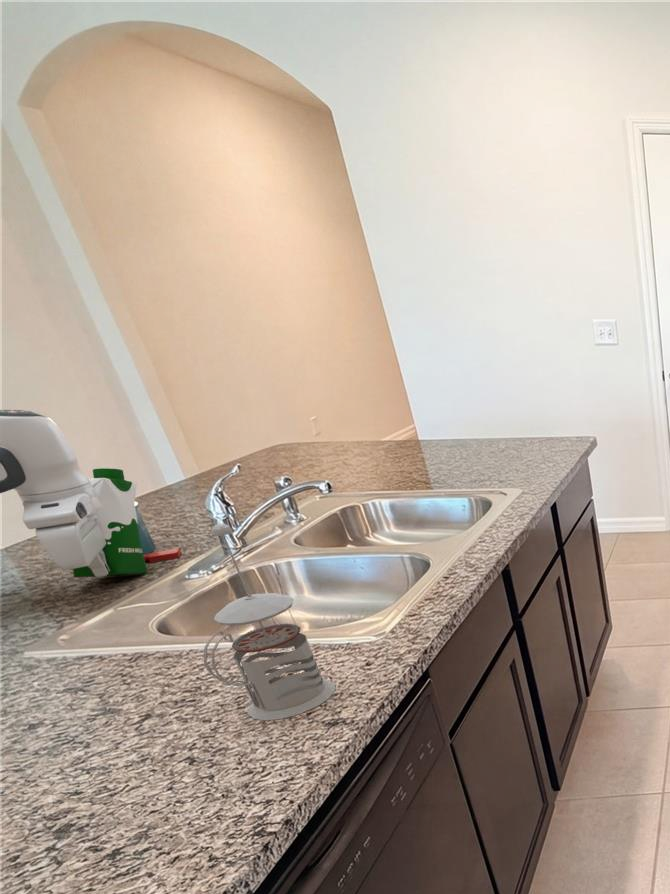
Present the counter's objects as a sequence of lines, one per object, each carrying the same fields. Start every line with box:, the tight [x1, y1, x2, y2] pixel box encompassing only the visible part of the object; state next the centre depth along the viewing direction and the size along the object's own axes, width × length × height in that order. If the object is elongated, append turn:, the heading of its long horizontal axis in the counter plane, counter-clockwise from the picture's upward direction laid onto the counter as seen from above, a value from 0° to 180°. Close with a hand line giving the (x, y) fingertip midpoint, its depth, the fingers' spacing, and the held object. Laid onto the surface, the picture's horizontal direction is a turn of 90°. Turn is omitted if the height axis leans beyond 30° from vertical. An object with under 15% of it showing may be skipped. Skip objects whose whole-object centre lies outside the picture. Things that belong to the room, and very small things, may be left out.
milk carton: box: [72, 467, 148, 578], centre depth 124 cm, size 9×9×20 cm
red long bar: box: [143, 547, 182, 563], centre depth 133 cm, size 16×3×1 cm, turn 125°
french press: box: [202, 523, 336, 722], centre depth 82 cm, size 10×12×25 cm
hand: (103, 574), depth 121 cm, fingers closed
